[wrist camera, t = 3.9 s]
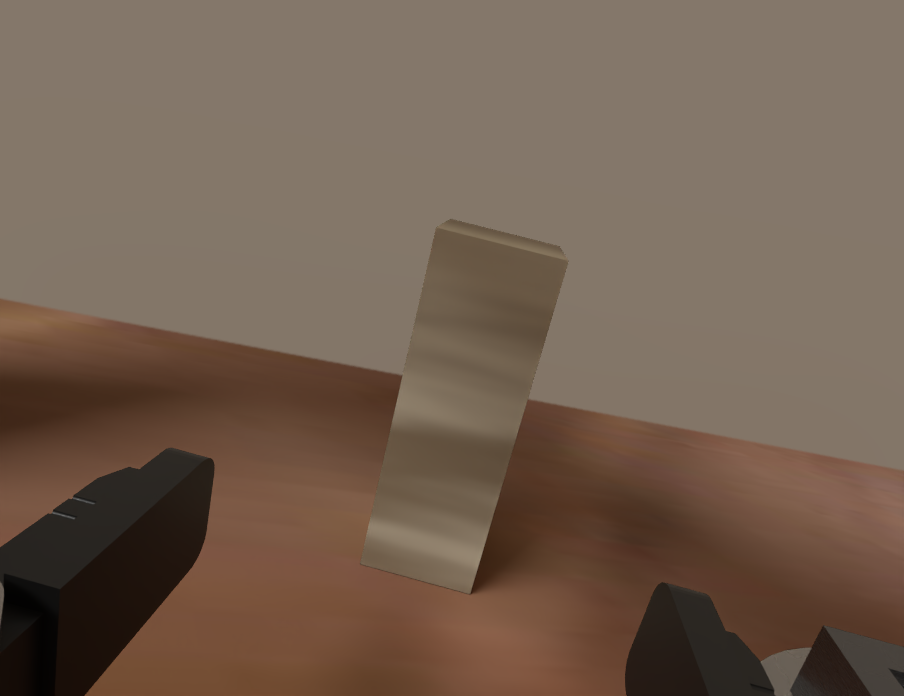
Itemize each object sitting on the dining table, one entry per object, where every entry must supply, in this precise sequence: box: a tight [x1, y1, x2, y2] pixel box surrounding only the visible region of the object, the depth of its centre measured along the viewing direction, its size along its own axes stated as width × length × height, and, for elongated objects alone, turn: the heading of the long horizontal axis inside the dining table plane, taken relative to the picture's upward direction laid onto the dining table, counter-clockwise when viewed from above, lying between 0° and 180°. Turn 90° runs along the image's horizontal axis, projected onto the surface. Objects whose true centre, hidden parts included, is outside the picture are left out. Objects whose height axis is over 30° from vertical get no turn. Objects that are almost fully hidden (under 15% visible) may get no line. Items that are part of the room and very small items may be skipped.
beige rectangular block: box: [360, 219, 568, 594], centre depth 21 cm, size 4×4×12 cm
